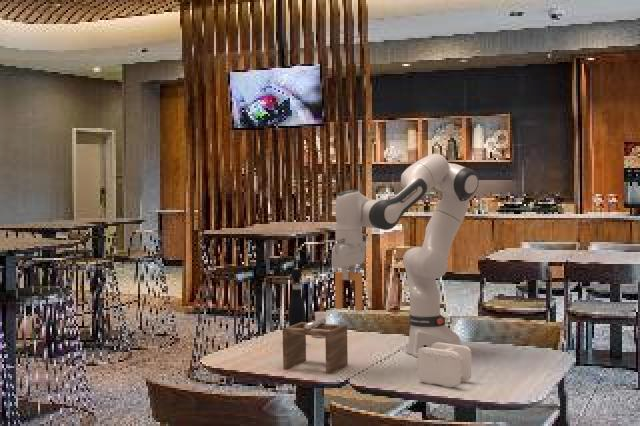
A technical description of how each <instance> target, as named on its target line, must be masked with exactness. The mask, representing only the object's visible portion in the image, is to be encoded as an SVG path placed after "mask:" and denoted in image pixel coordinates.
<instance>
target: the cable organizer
mask: <svg viewBox="0 0 640 426" xmlns="http://www.w3.org/2000/svg"><path fill="white" fill-rule="evenodd" d="M417 377H418V379H419V380H420V381H421V382H424V384H427V385H432V384H433V385H440V386H441V387H444V388H450V389H451V388H454V387H458V386H460V384H461V383H464V382H466V381H467V382H468V381H469V380H471V379H472V350H471V349H470V348H469V347H468V346H467V345H462V344H461V345H455V344H448V343H440V342H437V343H434V344H433V345H432V347H431V348H429V347H423V348H420V349H419V350H418V357H417Z"/></svg>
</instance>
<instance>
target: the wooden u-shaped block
mask: <svg viewBox="0 0 640 426" xmlns="http://www.w3.org/2000/svg"><path fill="white" fill-rule="evenodd" d="M348 273H349V274H350V278H349V279H348V280H347V281H353V282H354V311H362V310H363V272H349V271H348ZM343 281H345V280H344V279H343V273H342V271H336V272H334V289H335V291H334V295H335V297H334V299H335V300H334V305H335V306H334V307H335V308H334V309H337V310H341V309H343Z"/></svg>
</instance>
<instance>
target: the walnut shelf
mask: <svg viewBox="0 0 640 426" xmlns="http://www.w3.org/2000/svg"><path fill="white" fill-rule="evenodd" d="M308 323H310V322H309V321H308V322H307V321H305V322H300V323H297V324H295V325H292V326H289V325H288V326H286V327H283V328H282V363H283V364H282V366H283V370H289V369H290V368H293V367H296V366H297V365H300V364H303V363H305V362H306V361H307V337H306V336H311V337H312V336H324V337H325V338H324V339H325V374H327V373H328V374H329V375H331V374H333V373H334V371H335V372H337V371H338V369H339V370H340V368H341V369H342V367H343V368H344V366H345V367H346V365H347V366H348V364H349V363H348V361H349V359H348V356H349V355H348V354H349V353H348V325H345V324H332V323H326V324H323V325H320V326H317V327H314V328H312V329H309V330H305V329H304V325H306V324H308ZM316 329H323V330H316ZM304 361H305V362H304ZM295 365H296V366H295ZM336 370H337V371H336ZM332 372H333V373H332Z"/></svg>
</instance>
